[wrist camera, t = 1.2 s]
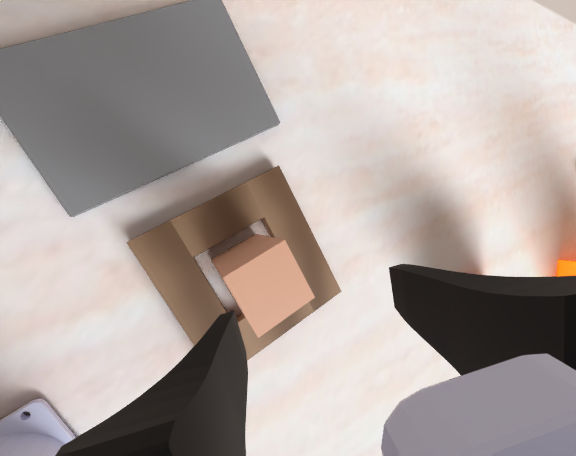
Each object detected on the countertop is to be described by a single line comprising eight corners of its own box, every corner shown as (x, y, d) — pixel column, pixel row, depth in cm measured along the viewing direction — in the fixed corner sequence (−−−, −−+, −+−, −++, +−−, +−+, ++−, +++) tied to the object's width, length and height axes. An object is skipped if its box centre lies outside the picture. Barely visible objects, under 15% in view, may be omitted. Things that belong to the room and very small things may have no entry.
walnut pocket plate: (216, 373, 21) (218, 381, 20) (130, 241, 19) (126, 242, 17) (334, 288, 24) (341, 291, 23) (274, 168, 22) (278, 165, 21)
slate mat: (73, 216, 17) (69, 216, 17) (-31, 64, 15) (-39, 58, 15) (277, 125, 22) (280, 122, 22) (217, -1, 20) (218, -7, 20)
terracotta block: (236, 302, 21) (258, 338, 15) (211, 259, 21) (222, 277, 14) (277, 275, 23) (315, 297, 16) (255, 234, 22) (285, 239, 15)
